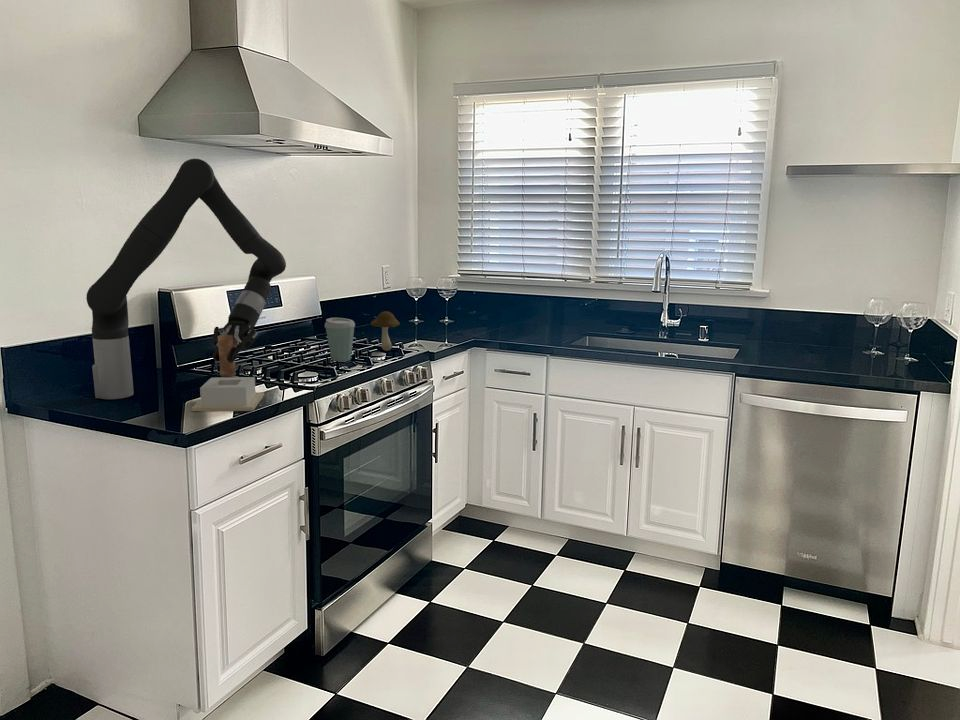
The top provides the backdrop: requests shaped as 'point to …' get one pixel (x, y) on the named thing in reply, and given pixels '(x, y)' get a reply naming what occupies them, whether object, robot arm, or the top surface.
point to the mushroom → (385, 327)
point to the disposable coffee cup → (340, 338)
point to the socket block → (228, 395)
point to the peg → (225, 355)
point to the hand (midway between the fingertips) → (222, 360)
